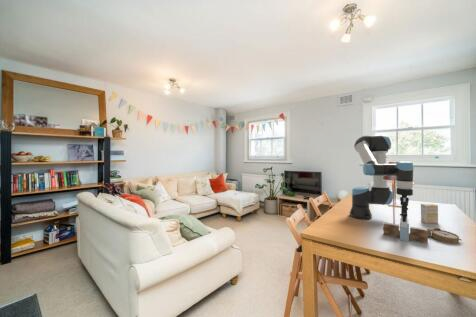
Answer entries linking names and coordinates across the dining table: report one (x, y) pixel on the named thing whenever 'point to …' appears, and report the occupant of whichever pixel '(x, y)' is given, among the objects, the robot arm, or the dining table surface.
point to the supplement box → (429, 213)
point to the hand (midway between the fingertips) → (404, 223)
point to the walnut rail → (414, 234)
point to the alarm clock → (443, 235)
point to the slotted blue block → (404, 232)
